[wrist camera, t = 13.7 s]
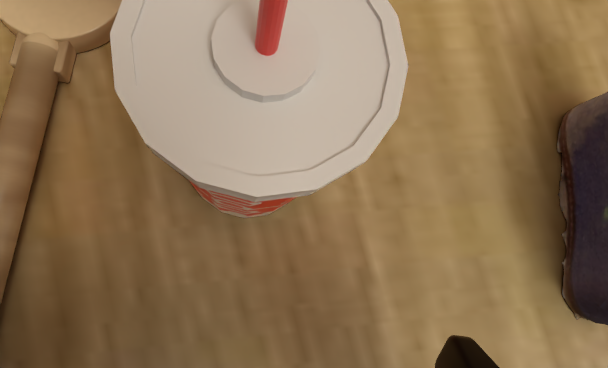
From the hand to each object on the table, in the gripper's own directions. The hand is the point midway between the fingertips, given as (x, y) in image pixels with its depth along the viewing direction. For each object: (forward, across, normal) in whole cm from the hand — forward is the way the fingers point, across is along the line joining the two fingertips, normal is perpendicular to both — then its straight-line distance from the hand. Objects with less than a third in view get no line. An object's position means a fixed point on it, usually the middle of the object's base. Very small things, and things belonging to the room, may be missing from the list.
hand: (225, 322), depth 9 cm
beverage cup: (+10, 0, +2) cm, 10 cm away
